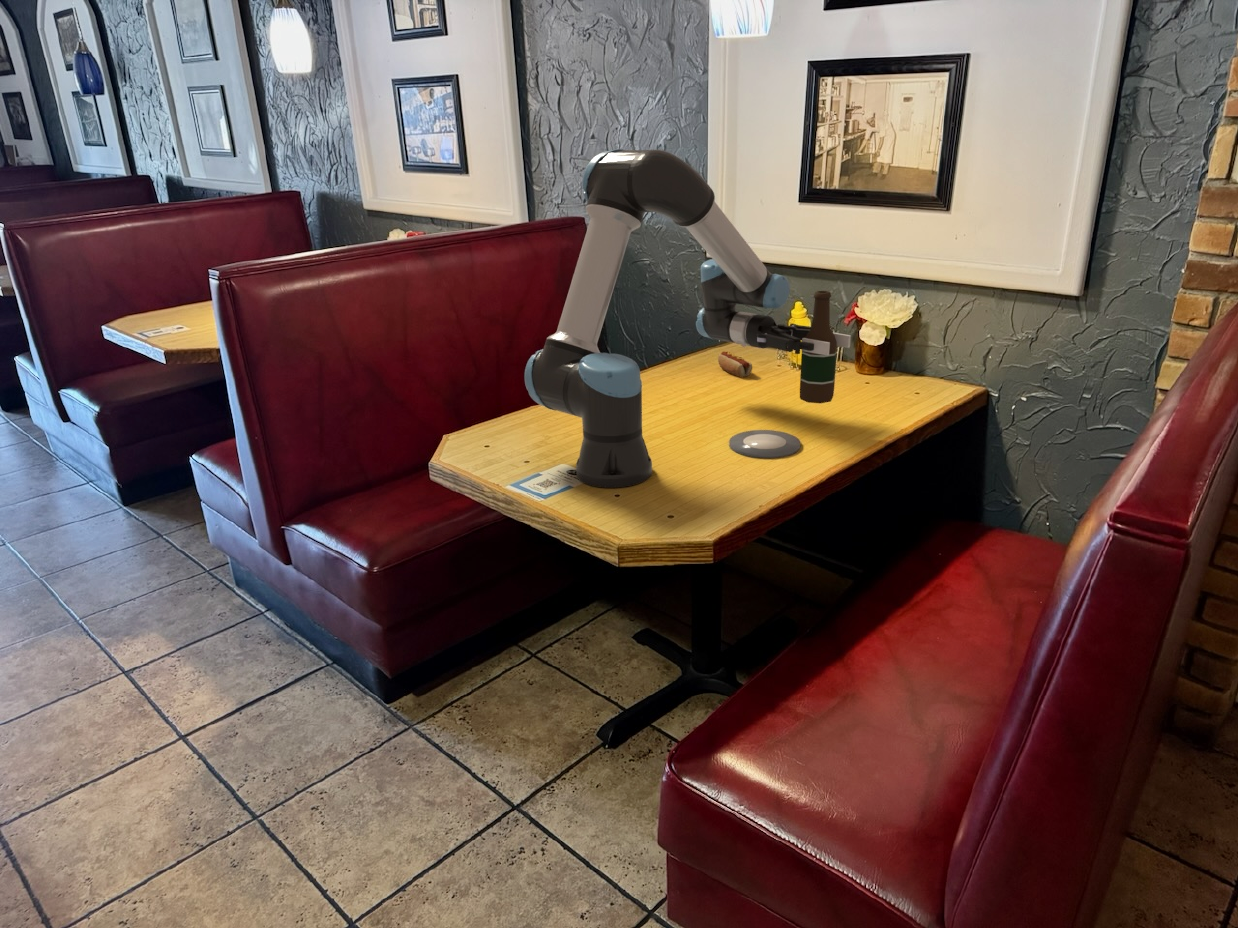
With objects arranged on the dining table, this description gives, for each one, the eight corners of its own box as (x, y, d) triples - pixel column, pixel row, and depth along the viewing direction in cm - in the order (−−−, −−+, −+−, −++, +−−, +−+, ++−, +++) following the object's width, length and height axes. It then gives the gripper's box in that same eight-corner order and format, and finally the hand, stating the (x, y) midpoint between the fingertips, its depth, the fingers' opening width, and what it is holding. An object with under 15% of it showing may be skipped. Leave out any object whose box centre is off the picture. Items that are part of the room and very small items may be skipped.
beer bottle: (840, 397, 190) (848, 290, 181) (822, 406, 185) (829, 296, 176) (810, 391, 195) (816, 287, 186) (792, 399, 190) (797, 292, 181)
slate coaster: (772, 463, 170) (772, 459, 170) (714, 446, 181) (714, 442, 180) (814, 443, 180) (814, 439, 180) (757, 428, 190) (758, 424, 190)
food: (713, 368, 239) (713, 350, 237) (731, 365, 240) (731, 348, 239) (738, 380, 227) (738, 362, 225) (756, 377, 228) (756, 359, 227)
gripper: (779, 338, 205) (863, 353, 190) (725, 354, 192) (811, 372, 177) (780, 307, 202) (865, 320, 187) (726, 322, 189) (813, 337, 174)
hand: (839, 345), depth 182 cm, fingers closed on beer bottle, 7 cm apart
